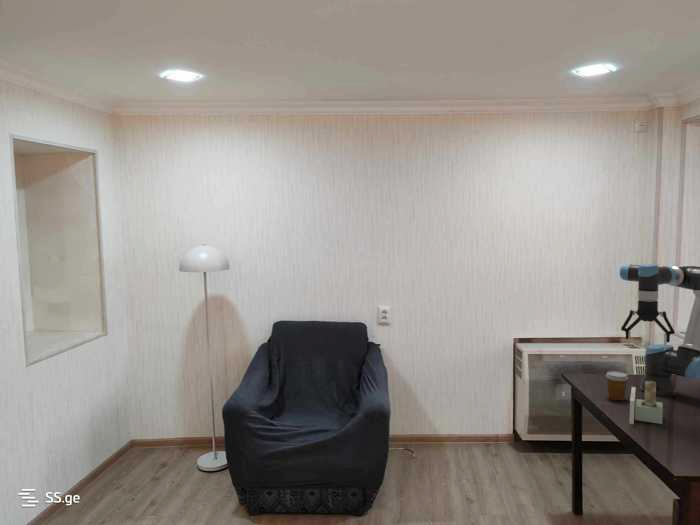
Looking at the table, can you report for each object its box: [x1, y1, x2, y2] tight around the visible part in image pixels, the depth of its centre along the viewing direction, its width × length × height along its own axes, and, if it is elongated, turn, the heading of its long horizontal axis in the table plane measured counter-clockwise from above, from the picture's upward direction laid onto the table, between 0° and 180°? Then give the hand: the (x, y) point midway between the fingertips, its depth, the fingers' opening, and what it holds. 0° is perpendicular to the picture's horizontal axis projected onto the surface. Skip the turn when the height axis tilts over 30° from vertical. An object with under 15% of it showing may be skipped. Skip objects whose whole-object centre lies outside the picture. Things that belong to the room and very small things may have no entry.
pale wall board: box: [628, 386, 637, 425], centre depth 227 cm, size 2×20×10 cm, turn 150°
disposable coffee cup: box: [605, 370, 629, 401], centre depth 249 cm, size 10×10×12 cm
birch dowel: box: [644, 381, 657, 407], centre depth 223 cm, size 4×4×16 cm
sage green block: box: [634, 398, 664, 425], centre depth 224 cm, size 10×10×6 cm
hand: (647, 347), depth 229 cm, fingers open, 13 cm apart
